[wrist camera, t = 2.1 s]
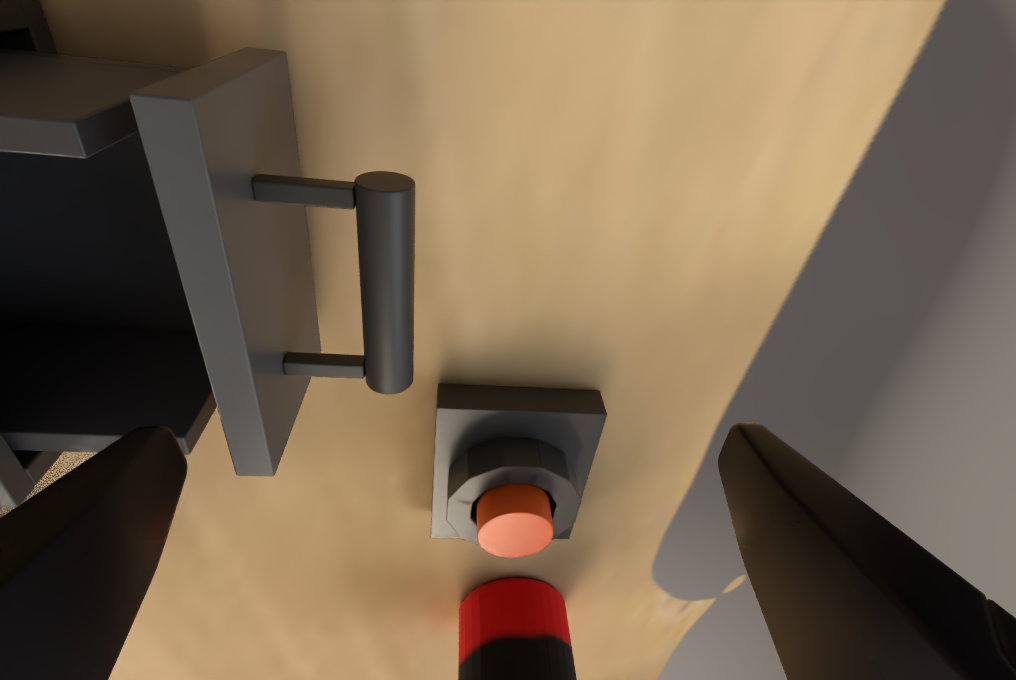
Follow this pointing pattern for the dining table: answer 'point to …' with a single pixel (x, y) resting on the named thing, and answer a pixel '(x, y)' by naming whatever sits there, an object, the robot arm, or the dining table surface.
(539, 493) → the button
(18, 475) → the dark grey hollow box
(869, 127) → the dining table surface
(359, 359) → the drawer
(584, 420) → the panel
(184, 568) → the dining table surface
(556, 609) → the soda can
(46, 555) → the robot arm
